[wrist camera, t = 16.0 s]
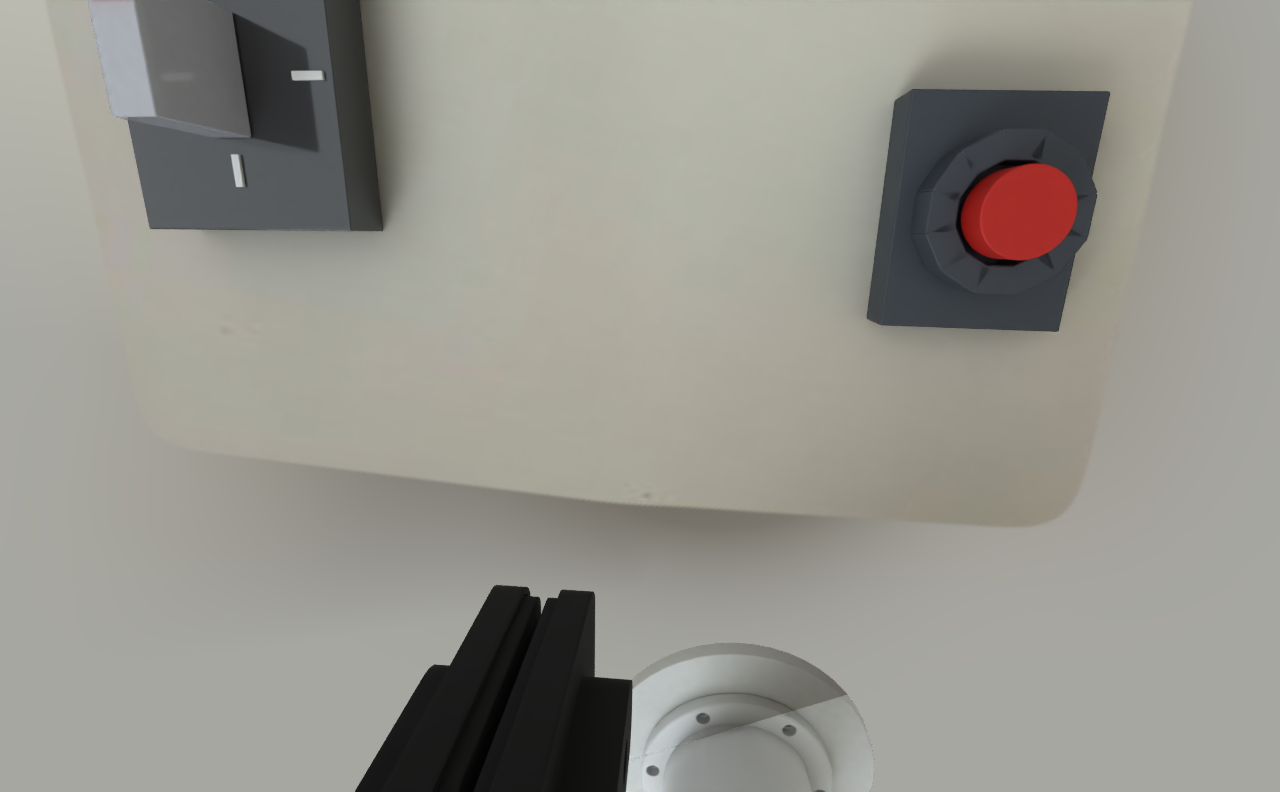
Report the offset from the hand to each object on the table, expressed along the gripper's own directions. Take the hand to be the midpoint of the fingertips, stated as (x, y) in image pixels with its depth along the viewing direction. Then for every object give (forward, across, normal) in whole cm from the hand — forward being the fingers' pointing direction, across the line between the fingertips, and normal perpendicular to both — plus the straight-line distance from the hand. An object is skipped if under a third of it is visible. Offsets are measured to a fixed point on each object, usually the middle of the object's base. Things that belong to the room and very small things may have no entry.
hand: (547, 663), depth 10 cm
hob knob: (+19, +19, -13) cm, 30 cm away
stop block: (+22, -15, -8) cm, 28 cm away
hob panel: (+22, +19, -13) cm, 32 cm away
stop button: (+19, -15, -8) cm, 25 cm away
